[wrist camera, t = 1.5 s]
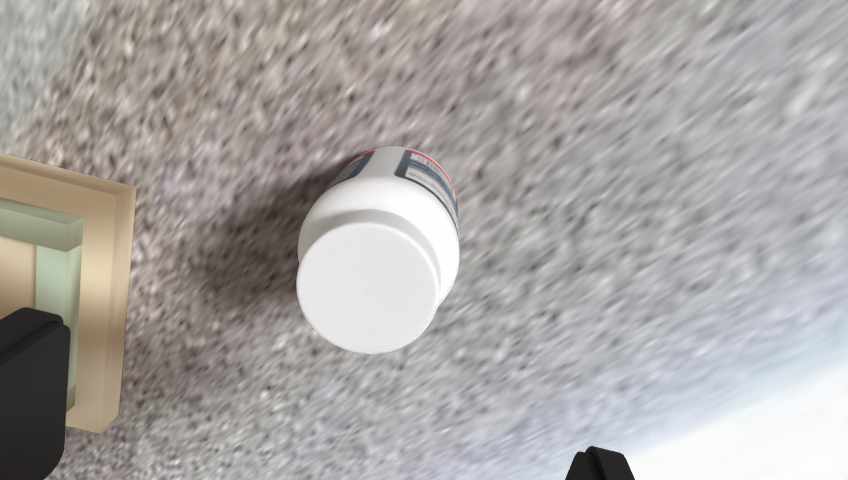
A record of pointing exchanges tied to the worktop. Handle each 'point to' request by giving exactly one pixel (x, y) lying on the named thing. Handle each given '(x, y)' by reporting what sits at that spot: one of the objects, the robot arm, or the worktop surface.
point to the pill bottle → (379, 251)
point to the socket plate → (71, 272)
